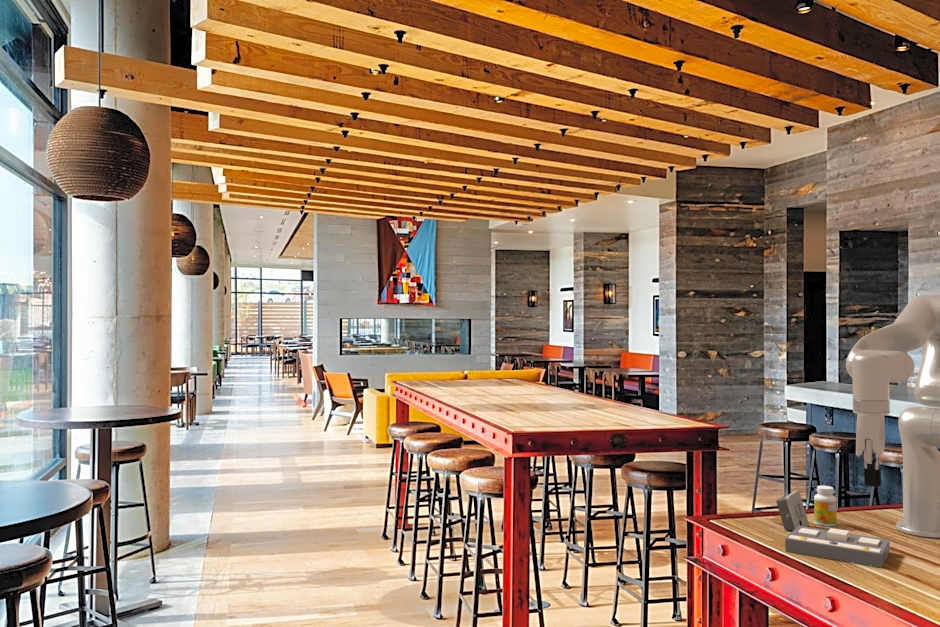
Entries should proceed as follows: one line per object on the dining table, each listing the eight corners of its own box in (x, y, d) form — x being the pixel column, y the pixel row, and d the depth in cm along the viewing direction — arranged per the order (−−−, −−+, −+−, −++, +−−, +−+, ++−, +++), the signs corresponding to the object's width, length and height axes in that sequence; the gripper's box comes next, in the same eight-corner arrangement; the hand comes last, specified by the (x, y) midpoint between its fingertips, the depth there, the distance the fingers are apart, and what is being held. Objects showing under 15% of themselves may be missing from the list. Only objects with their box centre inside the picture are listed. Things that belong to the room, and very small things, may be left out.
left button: (801, 538, 184) (801, 527, 184) (819, 540, 181) (819, 530, 181) (797, 542, 180) (797, 531, 180) (815, 545, 178) (815, 534, 178)
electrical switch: (799, 534, 190) (795, 497, 191) (778, 532, 194) (774, 496, 194) (809, 526, 198) (805, 490, 198) (789, 524, 201) (785, 489, 201)
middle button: (830, 538, 180) (830, 528, 180) (849, 541, 177) (849, 530, 177) (827, 542, 177) (827, 532, 177) (845, 545, 174) (845, 535, 174)
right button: (860, 547, 176) (860, 537, 176) (880, 550, 174) (880, 539, 174) (857, 552, 173) (857, 541, 173) (877, 555, 170) (877, 544, 170)
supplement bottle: (809, 522, 201) (809, 485, 201) (826, 520, 203) (825, 484, 203) (824, 527, 196) (824, 490, 196) (841, 525, 198) (841, 488, 198)
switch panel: (798, 537, 187) (798, 524, 187) (889, 552, 176) (889, 538, 176) (785, 551, 177) (785, 537, 177) (881, 567, 165) (881, 552, 165)
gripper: (858, 401, 182) (860, 476, 183) (847, 410, 170) (849, 490, 171) (893, 403, 178) (895, 480, 178) (885, 412, 166) (886, 495, 166)
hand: (872, 485), depth 174 cm, fingers closed
